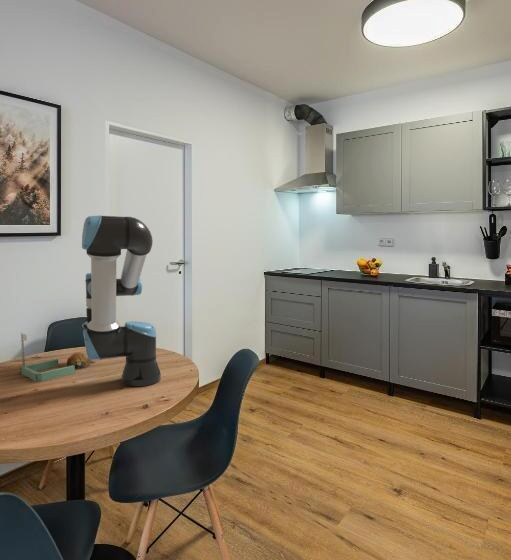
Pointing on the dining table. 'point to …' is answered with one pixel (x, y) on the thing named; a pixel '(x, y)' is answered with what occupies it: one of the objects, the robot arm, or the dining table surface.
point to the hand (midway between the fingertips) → (96, 358)
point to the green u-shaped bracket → (43, 367)
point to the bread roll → (79, 360)
